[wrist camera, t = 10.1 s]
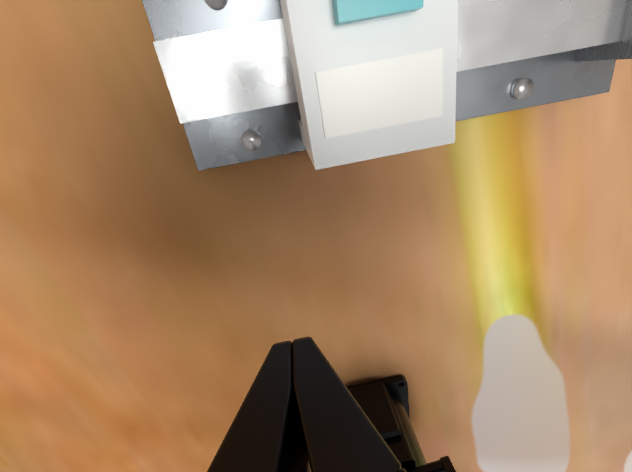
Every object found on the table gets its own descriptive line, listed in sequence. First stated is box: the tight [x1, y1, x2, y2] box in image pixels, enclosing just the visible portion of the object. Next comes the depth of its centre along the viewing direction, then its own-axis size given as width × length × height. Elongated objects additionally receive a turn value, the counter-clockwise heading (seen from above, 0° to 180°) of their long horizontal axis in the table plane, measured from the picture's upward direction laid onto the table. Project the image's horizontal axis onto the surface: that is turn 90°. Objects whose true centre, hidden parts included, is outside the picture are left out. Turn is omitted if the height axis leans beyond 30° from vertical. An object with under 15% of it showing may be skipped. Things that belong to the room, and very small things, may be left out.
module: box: [280, 0, 458, 170], centre depth 12 cm, size 7×5×7 cm
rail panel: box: [142, 0, 632, 171], centre depth 14 cm, size 8×22×4 cm, turn 99°
